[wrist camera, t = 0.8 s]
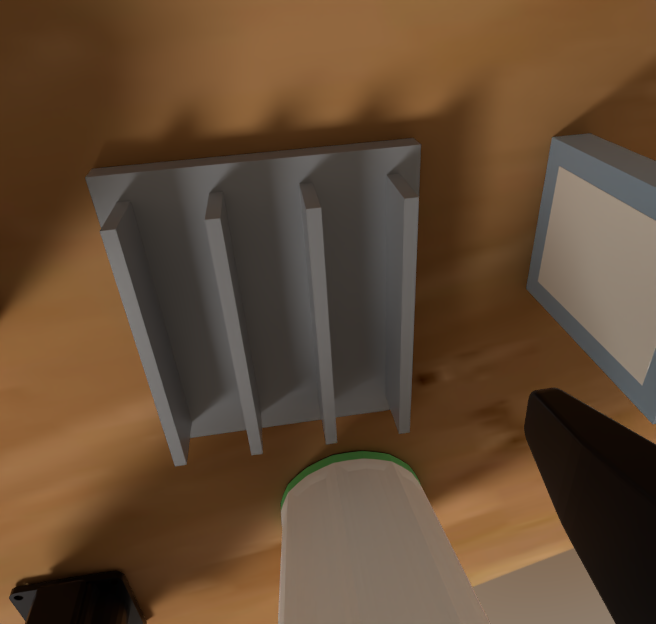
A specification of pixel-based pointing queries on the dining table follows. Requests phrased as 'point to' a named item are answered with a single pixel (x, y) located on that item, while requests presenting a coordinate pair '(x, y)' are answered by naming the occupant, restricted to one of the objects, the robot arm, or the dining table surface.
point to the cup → (368, 549)
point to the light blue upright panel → (601, 258)
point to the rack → (268, 284)
